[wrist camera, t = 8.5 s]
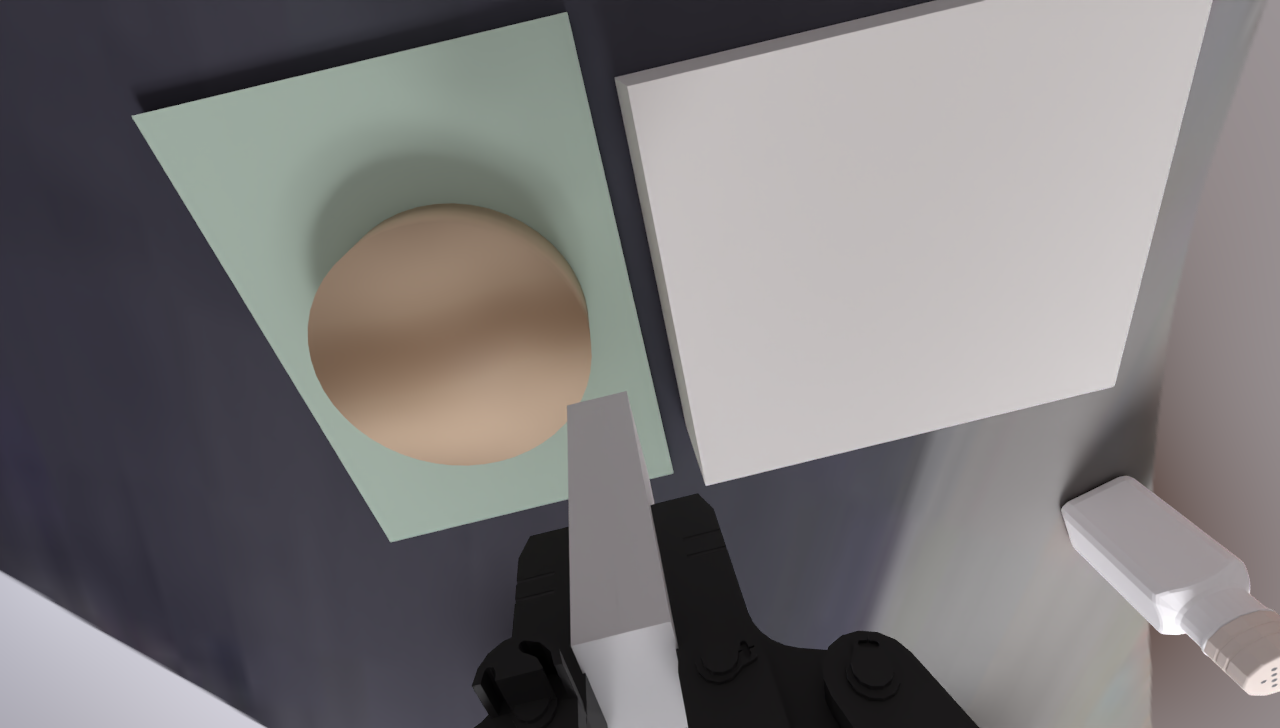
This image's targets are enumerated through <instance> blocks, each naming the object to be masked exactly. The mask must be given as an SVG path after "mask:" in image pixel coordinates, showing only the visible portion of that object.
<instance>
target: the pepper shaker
mask: <svg viewBox="0 0 1280 728" xmlns="http://www.w3.org/2000/svg"><path fill="white" fill-rule="evenodd" d="M1061 512H1062V515H1063V518H1064V521H1065V525H1066V528H1067V531H1068V534H1069V537H1070V540H1071V543H1072V546H1073V548H1074V549H1075V550H1077V551H1078V552H1079V553H1080V554H1081V555H1082V556H1083V557H1084V558H1085V559H1086V560H1087V561H1088V562H1089V563H1090V564H1091V565H1092V566H1093V567H1094V568H1095V569H1096V570H1097V571H1098V572H1099V573H1100V574H1101V575H1102V576H1103V577H1104V578H1105V579H1106V580H1107V581H1108V582H1109V583H1110V584H1111V585H1112V586H1113V587H1114V588H1115V589H1116V590H1117V591H1118V592H1119V593H1120V594H1121V595H1122V596H1123V597H1124V598H1125V599H1126V600H1127V601H1128V602H1129V603H1130V604H1131V605H1132V606H1133V607H1134V608H1135V609H1136V610H1137V611H1138V612H1139V613H1140V614H1141V615H1142V616H1143V617H1144V618H1145V619H1146V620H1147V621H1148V622H1149V623H1150V624H1151V625H1152V626H1153V627H1154V628H1155V629H1156V630H1157V631H1158V632H1160V633H1161V634H1173V635H1179V634H1184V633H1186V634H1188V636H1189V637H1190V638H1192V639H1193V640H1194V641H1195V642H1196V643H1197V644H1198V645H1199V646H1200V647H1201V650H1202V652H1203V653H1204V654H1205V655H1207V656H1209V657H1210V658H1211V659H1212V660H1213V661H1214V662H1215V663H1216V664H1217V665H1218V666H1219V667H1220V668H1221V669H1222V670H1223V671H1224V672H1225V673H1227V674H1228V675H1229V676H1230V677H1231V678H1232V679H1233V680H1234V681H1235V682H1236V683H1237V684H1238V685H1239V686H1240V687H1241V688H1242V689H1244V691H1245V692H1246V693H1248V694H1249V695H1269V694H1272V693H1276V692H1279V691H1280V615H1279V614H1278V613H1277V612H1275V611H1274V610H1273V609H1270V608H1266V607H1265V606H1264V605H1263V604H1261V603H1260V602H1259V601H1258V600H1257V599H1255V598H1254V597H1253V596H1252V595H1250V580H1249V575H1248V572H1247V569H1246V566H1245V564H1244V563H1243V561H1241V560H1240V559H1239V558H1238V557H1236V556H1235V555H1234V554H1232V553H1231V552H1230V551H1228V550H1227V549H1226V548H1224V547H1223V546H1222V545H1220V544H1219V543H1218V542H1217V541H1215V540H1214V539H1213V538H1211V537H1210V536H1209V535H1208V534H1206V533H1205V532H1204V531H1202V530H1201V529H1200V528H1198V527H1197V526H1196V525H1195V524H1193V523H1192V522H1191V521H1189V520H1188V519H1187V518H1185V517H1184V516H1183V515H1181V514H1180V513H1179V512H1178V511H1176V510H1175V509H1174V508H1172V507H1171V506H1170V505H1168V504H1167V503H1166V502H1164V501H1163V500H1162V499H1160V498H1159V497H1158V496H1157V495H1155V494H1154V493H1153V492H1151V491H1150V490H1149V489H1148V488H1146V487H1145V486H1144V485H1142V484H1141V483H1140V482H1138V481H1137V480H1136V479H1134V478H1132V477H1130V476H1121V477H1118V478H1116V479H1113V480H1111V481H1109V482H1107V483H1105V484H1103V485H1101V486H1099V487H1097V488H1095V489H1093V490H1091V491H1089V492H1087V493H1085V494H1083V495H1081V496H1079V497H1077V498H1074V499H1072V500H1070V501H1068V502H1067V503H1066V504H1065V505H1064V506H1063V507H1062V509H1061Z"/></svg>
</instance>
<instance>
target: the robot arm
mask: <svg viewBox="0 0 1280 728" xmlns="http://www.w3.org/2000/svg"><path fill="white" fill-rule="evenodd" d="M567 437H568V500H569V527H566V528H562V529H558V530H554V531H550V532H546V533H542V534H538V535H533V536H530V538H529V540H528V542H527V543H526V545H525V547H524V549H523V551H522V553H521V555H520V557H519V561H518V573H517V583H518V585H516V597H515V600H516V604H515V609H514V621H513V632H512V638H510V639H508V640H505V641H503V642H502V643H501V644H499V645H498V646H497V647H496V648H495V649H493V650H492V651H491V652H490V653H489V654H488V655H487V656H486V658H485V659H484V661H483V662H482V663H481V665H480V666H479V668H478V669H477V672H476V675H475V678H474V682H473V685H472V687H473V689H474V691H475V692H476V694H477V696H478V697H479V699H480V701H481V702H482V704H483V706H484V707H485V709H486V711H487V712H488V714H489V715H488V716H487V717H486V718H485V719H484V720H483V721H482V722H481V723H480V724H478V725H477V726H476V727H474V728H687V727H688V728H979V727H978V726H977V725H976V724H975V723H974V721H973V720H972V719H971V718H970V717H969V716H968V715H967V714H966V713H965V711H964V710H963V709H962V708H961V707H960V706H959V705H958V704H957V703H956V701H955V700H954V699H953V698H952V697H951V696H950V695H949V694H948V693H947V691H946V690H945V689H944V688H943V687H942V686H941V685H940V684H939V683H938V681H937V680H936V679H935V678H934V677H933V676H932V675H931V674H930V673H929V671H928V670H927V669H926V668H925V667H924V666H923V665H922V664H921V663H920V661H919V660H918V659H917V658H916V657H915V656H914V655H913V654H912V653H911V652H910V651H909V650H908V649H907V648H905V647H904V646H903V645H902V644H900V643H899V642H898V641H897V640H895V639H893V638H890V637H888V636H885V635H883V634H880V633H878V632H868V631H856V632H852V633H849V634H845V635H842V636H841V637H839V638H838V639H837V640H836V641H835V642H833V643H832V644H831V645H830V646H829V648H828V650H819V649H806V648H796V647H791V646H786V645H783V644H780V643H778V642H776V641H773V640H771V639H770V638H769V637H767V636H766V635H764V634H763V633H762V632H761V631H760V630H759V629H758V628H757V627H756V626H755V624H754V623H753V622H752V620H751V617H750V615H749V613H748V611H747V608H746V605H745V602H744V599H743V596H742V593H741V590H740V587H739V584H738V581H737V578H736V575H735V572H734V569H733V566H732V563H731V560H730V557H729V554H728V551H727V549H726V545H725V542H724V539H723V536H722V533H721V531H720V527H719V524H718V521H717V518H716V515H715V512H714V509H713V508H712V507H711V506H710V505H709V504H708V503H707V502H706V501H705V500H704V499H703V498H702V497H701V496H700V495H699V494H693V495H689V496H685V497H681V498H677V499H673V500H669V501H665V502H661V503H657V504H655V503H654V499H653V494H652V489H651V484H650V479H649V475H648V471H647V467H646V463H645V459H644V456H643V452H642V448H641V444H640V440H639V437H638V433H637V429H636V425H635V421H634V418H633V414H632V410H631V406H630V402H629V399H628V395H627V391H624V392H620V393H616V394H612V395H608V396H604V397H600V398H596V399H592V400H588V401H583V402H579V403H575V404H571V405H567Z"/></svg>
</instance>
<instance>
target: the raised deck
mask: <svg viewBox="0 0 1280 728" xmlns="http://www.w3.org/2000/svg"><path fill="white" fill-rule="evenodd" d="M1212 2H1213V0H935V1H931V2H927V3H922V4H918V5H914V6H910V7H906V8H902V9H897V10H893V11H889V12H885V13H881V14H877V15H872V16H868V17H864V18H860V19H856V20H852V21H847V22H843V23H839V24H835V25H831V26H827V27H822V28H818V29H814V30H810V31H806V32H802V33H797V34H793V35H789V36H785V37H781V38H777V39H772V40H768V41H764V42H760V43H756V44H752V45H747V46H743V47H739V48H735V49H731V50H727V51H722V52H718V53H714V54H710V55H706V56H702V57H697V58H693V59H689V60H685V61H681V62H677V63H672V64H668V65H664V66H660V67H656V68H652V69H647V70H643V71H639V72H635V73H631V74H627V75H622V76H618V77H614V79H615V84H616V88H617V93H618V98H619V103H620V108H621V113H622V118H623V123H624V127H625V132H626V137H627V142H628V147H629V152H630V157H631V161H632V166H633V171H634V176H635V181H636V186H637V191H638V196H639V200H640V205H641V210H642V215H643V220H644V225H645V230H646V235H647V239H648V244H649V249H650V254H651V259H652V264H653V269H654V273H655V278H656V283H657V288H658V293H659V298H660V303H661V308H662V312H663V317H664V322H665V327H666V332H667V337H668V342H669V346H670V351H671V356H672V361H673V366H674V371H675V376H676V381H677V385H678V390H679V395H680V400H681V405H682V410H683V415H684V419H685V424H686V428H687V431H688V434H689V437H690V440H691V443H692V446H693V449H694V452H695V455H696V458H697V461H698V464H699V467H700V470H701V473H702V476H703V479H704V482H705V485H706V486H708V485H712V484H716V483H721V482H725V481H729V480H733V479H737V478H741V477H745V476H749V475H753V474H757V473H762V472H766V471H770V470H774V469H778V468H782V467H786V466H790V465H794V464H799V463H803V462H807V461H811V460H815V459H819V458H823V457H827V456H831V455H835V454H840V453H844V452H848V451H852V450H856V449H860V448H864V447H868V446H872V445H877V444H881V443H885V442H889V441H893V440H897V439H901V438H905V437H909V436H913V435H918V434H922V433H926V432H930V431H934V430H938V429H942V428H946V427H950V426H955V425H959V424H963V423H967V422H971V421H975V420H979V419H983V418H987V417H992V416H996V415H1000V414H1004V413H1008V412H1012V411H1016V410H1020V409H1024V408H1028V407H1033V406H1037V405H1041V404H1045V403H1049V402H1053V401H1057V400H1061V399H1065V398H1070V397H1074V396H1078V395H1082V394H1086V393H1090V392H1094V391H1098V390H1102V389H1106V388H1111V387H1114V386H1115V382H1116V378H1117V374H1118V371H1119V367H1120V363H1121V359H1122V355H1123V351H1124V347H1125V343H1126V339H1127V335H1128V331H1129V327H1130V323H1131V320H1132V316H1133V312H1134V308H1135V304H1136V300H1137V296H1138V292H1139V288H1140V284H1141V280H1142V276H1143V272H1144V269H1145V265H1146V261H1147V257H1148V253H1149V249H1150V245H1151V241H1152V237H1153V233H1154V229H1155V225H1156V221H1157V217H1158V214H1159V210H1160V206H1161V202H1162V198H1163V194H1164V190H1165V186H1166V182H1167V178H1168V174H1169V170H1170V166H1171V163H1172V159H1173V155H1174V151H1175V147H1176V143H1177V139H1178V135H1179V131H1180V127H1181V123H1182V119H1183V115H1184V112H1185V108H1186V104H1187V100H1188V96H1189V92H1190V88H1191V84H1192V80H1193V76H1194V72H1195V68H1196V64H1197V60H1198V57H1199V53H1200V49H1201V45H1202V41H1203V37H1204V33H1205V29H1206V25H1207V21H1208V17H1209V13H1210V9H1211V6H1212Z"/></svg>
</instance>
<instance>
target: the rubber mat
mask: <svg viewBox="0 0 1280 728" xmlns="http://www.w3.org/2000/svg"><path fill="white" fill-rule="evenodd" d="M132 118H133V120H134V121H135V123H136V124H137V126H138V128H139V129H140V131H141V133H142V134H143V136H144V138H145V139H146V141H147V143H148V144H149V146H150V148H151V149H152V151H153V152H154V154H155V156H156V157H157V159H158V161H159V162H160V164H161V166H162V167H163V169H164V171H165V172H166V174H167V175H168V177H169V179H170V180H171V182H172V184H173V185H174V187H175V189H176V190H177V192H178V194H179V195H180V197H181V199H182V200H183V202H184V203H185V205H186V207H187V208H188V210H189V212H190V213H191V215H192V217H193V218H194V220H195V222H196V223H197V225H198V226H199V228H200V230H201V231H202V233H203V235H204V236H205V238H206V240H207V241H208V243H209V245H210V246H211V248H212V250H213V251H214V253H215V254H216V256H217V258H218V259H219V261H220V263H221V264H222V266H223V268H224V269H225V271H226V273H227V274H228V276H229V277H230V279H231V281H232V282H233V284H234V286H235V287H236V289H237V291H238V292H239V294H240V296H241V297H242V299H243V301H244V302H245V304H246V305H247V307H248V309H249V310H250V312H251V314H252V315H253V317H254V319H255V320H256V322H257V324H258V325H259V327H260V328H261V330H262V332H263V333H264V335H265V337H266V338H267V340H268V342H269V343H270V345H271V347H272V348H273V350H274V351H275V353H276V355H277V356H278V358H279V360H280V361H281V363H282V365H283V366H284V368H285V370H286V371H287V373H288V375H289V376H290V378H291V379H292V381H293V383H294V384H295V386H296V388H297V389H298V391H299V393H300V394H301V396H302V398H303V399H304V401H305V402H306V404H307V406H308V407H309V409H310V411H311V412H312V414H313V416H314V417H315V419H316V421H317V422H318V424H319V426H320V427H321V429H322V430H323V432H324V434H325V435H326V437H327V439H328V440H329V442H330V444H331V445H332V447H333V449H334V450H335V452H336V453H337V455H338V457H339V458H340V460H341V462H342V463H343V465H344V467H345V468H346V470H347V472H348V473H349V475H350V477H351V478H352V480H353V481H354V483H355V485H356V486H357V488H358V490H359V491H360V493H361V495H362V496H363V498H364V500H365V501H366V503H367V504H368V506H369V508H370V509H371V511H372V513H373V514H374V516H375V518H376V519H377V521H378V523H379V524H380V526H381V528H382V529H383V531H384V532H385V534H386V536H387V537H388V539H389V541H390V542H394V541H398V540H402V539H406V538H410V537H415V536H419V535H423V534H427V533H431V532H435V531H439V530H443V529H447V528H452V527H456V526H460V525H464V524H468V523H472V522H476V521H480V520H484V519H489V518H493V517H497V516H501V515H505V514H509V513H513V512H517V511H521V510H526V509H530V508H534V507H538V506H542V505H546V504H550V503H554V502H558V501H563V500H567V499H568V437H567V422H566V423H565V424H564V425H563V426H562V427H561V428H560V429H559V430H558V431H557V432H556V433H555V434H554V435H553V436H551V437H550V438H549V439H547V440H546V441H545V442H543V443H542V444H540V445H538V446H537V447H535V448H533V449H531V450H530V451H527V452H525V453H523V454H520V455H518V456H516V457H512V458H509V459H506V460H503V461H499V462H493V463H488V464H481V465H469V466H463V465H445V464H436V463H431V462H426V461H422V460H418V459H414V458H411V457H408V456H405V455H402V454H400V453H398V452H395V451H393V450H391V449H388V448H386V447H384V446H383V445H381V444H379V443H377V442H376V441H374V440H372V439H371V438H369V437H368V436H366V435H365V434H364V433H362V432H361V431H359V430H358V429H357V428H356V427H355V426H353V425H352V424H351V423H350V422H349V421H348V420H347V419H346V418H345V417H344V416H343V415H342V414H341V413H340V412H339V411H338V409H337V408H336V407H335V406H334V405H333V404H332V402H331V401H330V399H329V398H328V396H327V395H326V393H325V392H324V390H323V388H322V386H321V384H320V382H319V380H318V378H317V376H316V374H315V371H314V368H313V365H312V362H311V358H310V352H309V347H308V321H309V314H310V309H311V306H312V303H313V300H314V297H315V294H316V292H317V290H318V288H319V286H320V284H321V282H322V281H323V279H324V278H325V276H326V275H327V274H328V272H329V271H330V270H331V268H332V267H333V266H334V265H335V264H336V263H337V262H338V261H339V260H340V259H341V258H342V257H343V256H344V255H345V254H346V253H347V252H348V251H349V250H350V249H351V248H352V247H353V246H354V245H355V244H356V243H357V242H358V241H359V240H360V239H361V238H362V237H363V236H364V235H366V234H367V233H368V232H369V231H370V230H371V229H372V228H374V227H375V226H377V225H378V224H380V223H381V222H383V221H384V220H386V219H388V218H390V217H392V216H394V215H396V214H398V213H401V212H404V211H407V210H410V209H413V208H416V207H421V206H427V205H432V204H448V203H456V204H467V205H474V206H479V207H484V208H489V209H492V210H495V211H498V212H501V213H503V214H506V215H509V216H511V217H513V218H515V219H517V220H519V221H521V222H523V223H525V224H526V225H528V226H529V227H531V228H532V229H534V230H535V231H537V232H538V233H540V234H541V235H542V236H543V237H544V238H546V239H547V240H548V241H549V242H550V243H551V244H552V245H553V246H554V247H555V248H556V249H557V250H558V251H559V252H560V253H561V254H562V255H563V257H564V258H565V259H566V261H567V262H568V264H569V265H570V267H571V268H572V269H573V271H574V273H575V275H576V277H577V279H578V281H579V283H580V285H581V288H582V291H583V293H584V296H585V300H586V305H587V309H588V317H589V328H590V339H591V354H592V359H591V371H590V376H589V380H588V384H587V387H586V390H585V392H584V395H583V397H582V400H581V401H580V402H583V401H588V400H592V399H596V398H600V397H604V396H608V395H612V394H616V393H620V392H624V391H627V395H628V399H629V402H630V406H631V410H632V414H633V418H634V421H635V425H636V429H637V433H638V437H639V440H640V444H641V448H642V452H643V456H644V459H645V463H646V467H647V471H648V475H649V479H653V478H657V477H661V476H665V475H669V474H673V473H674V472H673V468H672V464H671V459H670V455H669V451H668V446H667V442H666V438H665V433H664V429H663V425H662V420H661V416H660V412H659V407H658V403H657V399H656V394H655V390H654V386H653V381H652V377H651V373H650V368H649V364H648V360H647V355H646V351H645V347H644V342H643V338H642V334H641V329H640V325H639V321H638V316H637V312H636V308H635V303H634V299H633V295H632V290H631V286H630V282H629V277H628V273H627V269H626V264H625V260H624V256H623V251H622V247H621V243H620V238H619V234H618V230H617V225H616V221H615V217H614V212H613V208H612V204H611V199H610V195H609V191H608V186H607V182H606V178H605V173H604V169H603V165H602V160H601V156H600V152H599V147H598V143H597V139H596V134H595V130H594V126H593V121H592V117H591V113H590V108H589V104H588V100H587V95H586V91H585V87H584V82H583V78H582V74H581V69H580V65H579V61H578V56H577V52H576V48H575V43H574V39H573V35H572V30H571V26H570V22H569V17H568V13H567V12H564V13H560V14H556V15H552V16H548V17H543V18H539V19H535V20H531V21H527V22H522V23H518V24H514V25H510V26H506V27H502V28H497V29H493V30H489V31H485V32H481V33H476V34H472V35H468V36H464V37H460V38H456V39H451V40H447V41H443V42H439V43H435V44H430V45H426V46H422V47H418V48H414V49H410V50H405V51H401V52H397V53H393V54H389V55H385V56H380V57H376V58H372V59H368V60H364V61H359V62H355V63H351V64H347V65H343V66H339V67H334V68H330V69H326V70H322V71H318V72H313V73H309V74H305V75H301V76H297V77H293V78H288V79H284V80H280V81H276V82H272V83H268V84H263V85H259V86H255V87H251V88H247V89H242V90H238V91H234V92H230V93H226V94H222V95H217V96H213V97H209V98H205V99H201V100H196V101H192V102H188V103H184V104H180V105H176V106H171V107H167V108H163V109H159V110H155V111H150V112H146V113H142V114H138V115H134V116H132Z"/></svg>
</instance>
